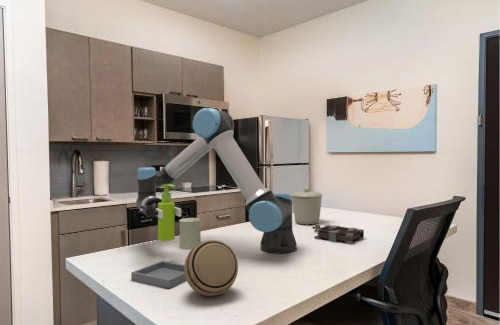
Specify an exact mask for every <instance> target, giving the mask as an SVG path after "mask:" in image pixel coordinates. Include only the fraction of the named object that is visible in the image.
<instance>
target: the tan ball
mask: <svg viewBox="0 0 500 325" xmlns="http://www.w3.org/2000/svg"><path fill="white" fill-rule="evenodd" d="M183 265H184V273H185V278H186V282H187V284H188V286H189V287H190V288H191V289H192V290H193V291H194V292H196V293H198V294H199V295H202V296H205V297H214V296H215V297H216V296H219V295H221V294H224V293H225V292H227V291H228V290H229V289H230V288H231V287H232V286H233V285H234V284H235V281H236V279H237V276H238V271H239V262H238V258H237V256H236V253H235V251H233V248H231V247H230V246H229V245H228V244H227V243H226V242H223V241H220V240H217V239H216V240H215V239H209V240H203V241H201V243H199V244H197V245H196V246H195V247H193V248H192V249H190V251H189V252H188V253H187V256H186V258H185V260H184V264H183Z"/></svg>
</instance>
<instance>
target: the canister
mask: <svg viewBox="0 0 500 325" xmlns="http://www.w3.org/2000/svg"><path fill="white" fill-rule="evenodd" d="M290 195H291V196H292V211H293V216H294V220H295V222H296V223H297V224H298V225H302V224H305V225H304V226H308V225H309V224H313V225H315V224H316V223H317V224H318V223H319V221H320V216H321V210H322V197H323V195H324V194H322V193H321V192H318V191H311V190H310V187H309V186H304V187H303V190H302V191H301V190H300V191H295V192H292V194H290ZM317 224H316V225H317ZM309 226H310V225H309Z"/></svg>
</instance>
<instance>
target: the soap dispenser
mask: <svg viewBox="0 0 500 325" xmlns="http://www.w3.org/2000/svg"><path fill="white" fill-rule="evenodd" d="M162 186H164V187H163V192H162V193H161V200H162V202H160V203H158V209H160V210H163V218H159V217H157V240H158V241H161V242H163V241H164V242H167V241H172V240H173V241H174V240H175V236H176V235H175V230H176V229H175V228H176V226H175V224H176V223H175V221H176V220H175V217H176V215H175V205H176V203H175V202H172V193H171V192H170V191H169V190H170V188H176V187H177V186H176V185H175V184H173V185H172V184H165V185H162ZM169 187H170V188H169Z"/></svg>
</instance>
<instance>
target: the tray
mask: <svg viewBox="0 0 500 325" xmlns="http://www.w3.org/2000/svg"><path fill="white" fill-rule="evenodd" d="M184 265H185V264H183V263H174V262H172V261H171V262H169V261H166V260H165V261H164V260H161V261H158V262H156V263H152V264H149V265H148V266H145V267H142V268H139V269H137V270H134V271H132V272H131V274H130V276H131V279H130V280H131V281H133V282H136V281H137V283H141V284H145V283H146V285H149V284H150V285H151V286H154V285H155V286H154V287H158V286H159V288H162V287H163V288H162V289H168V290H170V289H172V288H174V287H176V286H178V285H180V284H182V283H184V282H187V280H186V278H185V273H184ZM150 285H149V286H150Z"/></svg>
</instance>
